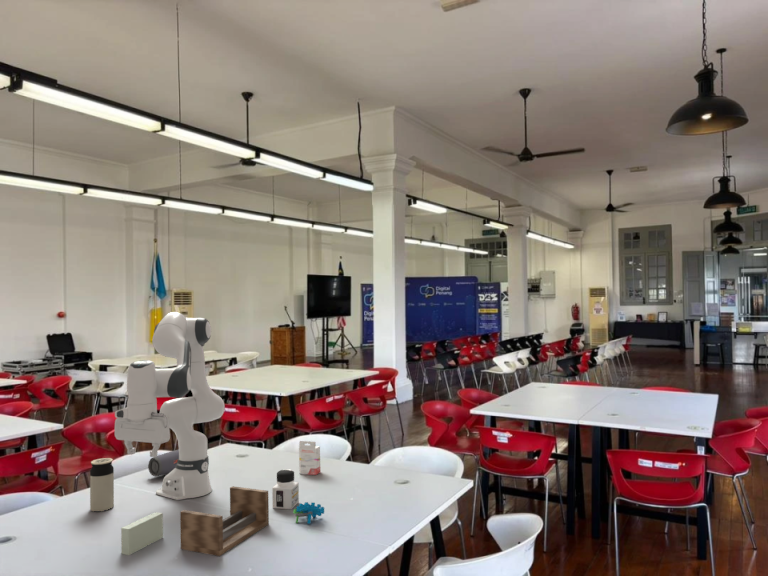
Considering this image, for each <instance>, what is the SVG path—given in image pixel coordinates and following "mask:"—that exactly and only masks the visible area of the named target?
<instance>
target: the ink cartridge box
mask: <svg viewBox="0 0 768 576" xmlns="http://www.w3.org/2000/svg"><path fill="white" fill-rule="evenodd" d="M298 444H299V445H298V447H299V448H298V457H299V461H298V463H299V464H298V465H299V467H298V469H299V475H312V476H317V475H318V474H320V473H321V446H320V445H316V441H308V440H304V441H303V440H302V441H301V440H299V443H298ZM307 444H308V445H307Z"/></svg>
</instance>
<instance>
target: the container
mask: <svg viewBox="0 0 768 576" xmlns="http://www.w3.org/2000/svg"><path fill="white" fill-rule="evenodd" d="M299 490H300V489H299V482H298V481H295V471H294V470H293V469H290V468H289V469H287V468H286V469H281V470H279V471H277V472H276V484H275V485H274V486H272V489H271V491H272V492H271V493H272V508H273V509H279V510H280V509H282V510H292V509H293V508H294V507H295V506H297V504H299V501H300V494H299V492H300V491H299Z"/></svg>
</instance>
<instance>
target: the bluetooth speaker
mask: <svg viewBox="0 0 768 576" xmlns="http://www.w3.org/2000/svg"><path fill="white" fill-rule="evenodd" d="M178 459H179V449H176V450H171V451H168V452H165V453H161V454H159V455H158V454H157V456H156V457H150V459H149V461H148V465H147V467H148V468H147V469H148V471H149V473H150V475H151V476H152V477H159V476H163V475H165V476H166V475H167V474H169V473H170V472H171V471H172V470H173V469H175V468H176V464H177V463H174V462H176V461H175V460H178Z"/></svg>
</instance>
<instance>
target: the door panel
mask: <svg viewBox="0 0 768 576" xmlns="http://www.w3.org/2000/svg"><path fill="white" fill-rule="evenodd" d="M120 530H121V533H120V535H121V536H120V539H121V540H120V541H121V543H120V544H121V546H120V548H121V549H120V551H121V553H120V554H121V555H124V556H131V555H133V554H135V553H136V552H138V551H140V550H142V549H144V548H145V547H148V546H149V545H151V543H152V544H153V543H156V542H157V541H159V540H162V539H163V538H164V514H163V512H156V511H155V512H153V513H150V514H149V515H146V516H144V517H141V518H140V519H137V520H136V521H133V522H132V523H131V522H130V523H129V524H127V525H124V526H123V527H121V528H120ZM147 545H148V546H147Z"/></svg>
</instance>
